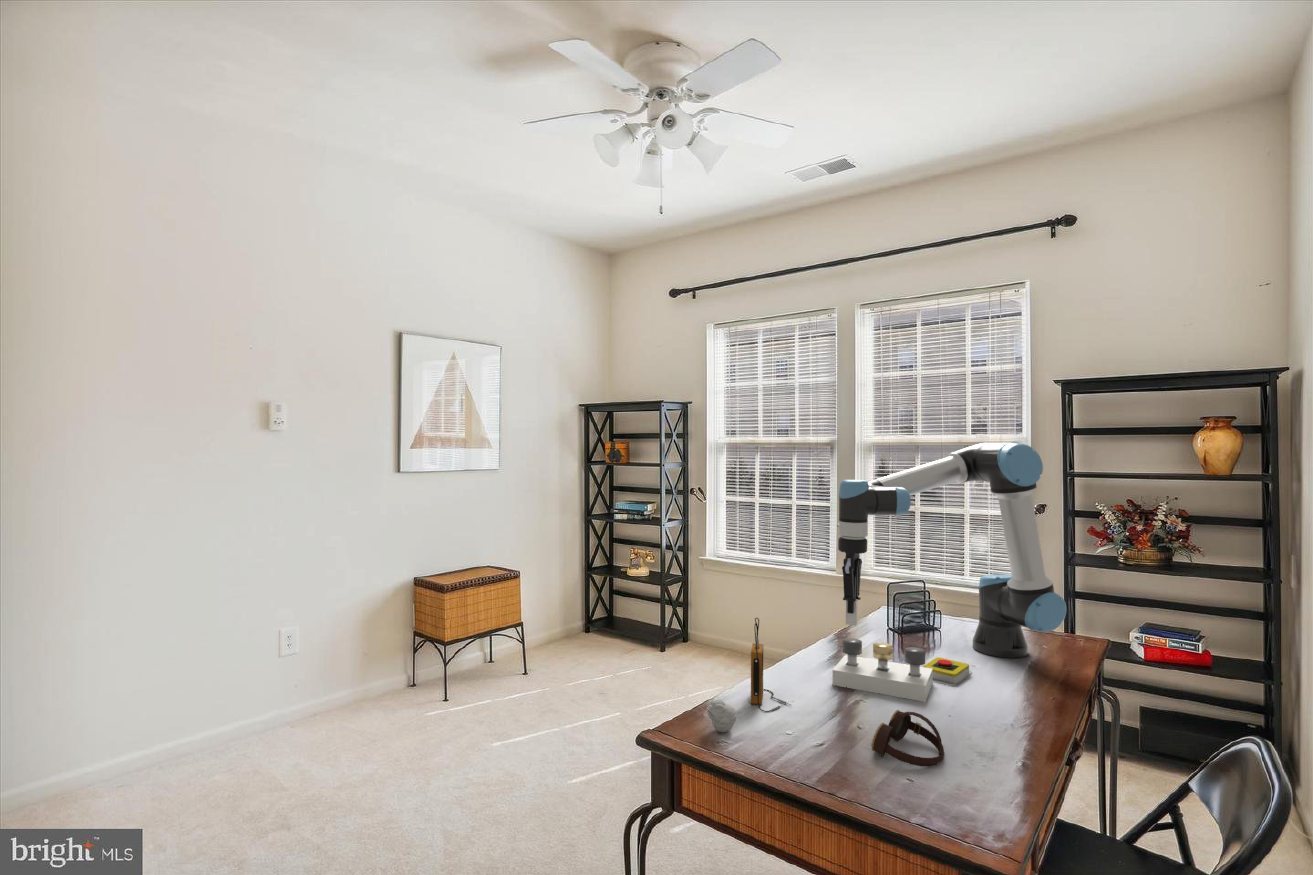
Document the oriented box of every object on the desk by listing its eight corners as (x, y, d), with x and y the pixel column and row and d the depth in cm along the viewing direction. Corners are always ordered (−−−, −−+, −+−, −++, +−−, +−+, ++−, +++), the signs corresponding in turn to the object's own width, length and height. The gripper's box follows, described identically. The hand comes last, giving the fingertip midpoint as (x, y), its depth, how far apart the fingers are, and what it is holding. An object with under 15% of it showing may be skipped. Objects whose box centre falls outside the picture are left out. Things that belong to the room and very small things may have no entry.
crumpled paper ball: (701, 728, 154) (701, 697, 154) (729, 723, 156) (729, 693, 156) (713, 739, 148) (713, 707, 148) (742, 734, 151) (742, 703, 151)
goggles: (890, 730, 153) (901, 689, 151) (949, 760, 145) (961, 717, 143) (863, 754, 141) (874, 710, 139) (926, 789, 133) (938, 743, 131)
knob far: (863, 665, 186) (863, 639, 186) (859, 671, 181) (859, 644, 181) (845, 662, 188) (845, 637, 188) (840, 667, 184) (840, 642, 184)
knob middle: (894, 670, 182) (894, 644, 182) (890, 676, 177) (891, 649, 177) (874, 667, 184) (875, 641, 184) (871, 673, 180) (871, 646, 180)
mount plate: (932, 683, 182) (932, 668, 181) (925, 701, 169) (925, 685, 169) (845, 668, 193) (845, 654, 193) (832, 684, 180) (832, 669, 180)
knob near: (926, 675, 178) (926, 649, 178) (923, 681, 174) (923, 654, 174) (906, 672, 180) (906, 646, 180) (903, 678, 176) (903, 651, 176)
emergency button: (918, 663, 186) (939, 650, 197) (918, 679, 186) (939, 665, 197) (953, 671, 180) (973, 657, 191) (953, 688, 180) (973, 673, 191)
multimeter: (792, 714, 161) (792, 630, 161) (749, 711, 163) (749, 627, 163) (792, 691, 176) (792, 614, 176) (753, 688, 178) (753, 611, 178)
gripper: (844, 532, 192) (843, 616, 192) (832, 538, 180) (831, 628, 181) (872, 535, 188) (870, 620, 188) (861, 541, 177) (860, 632, 177)
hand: (851, 624), depth 185 cm, fingers closed
